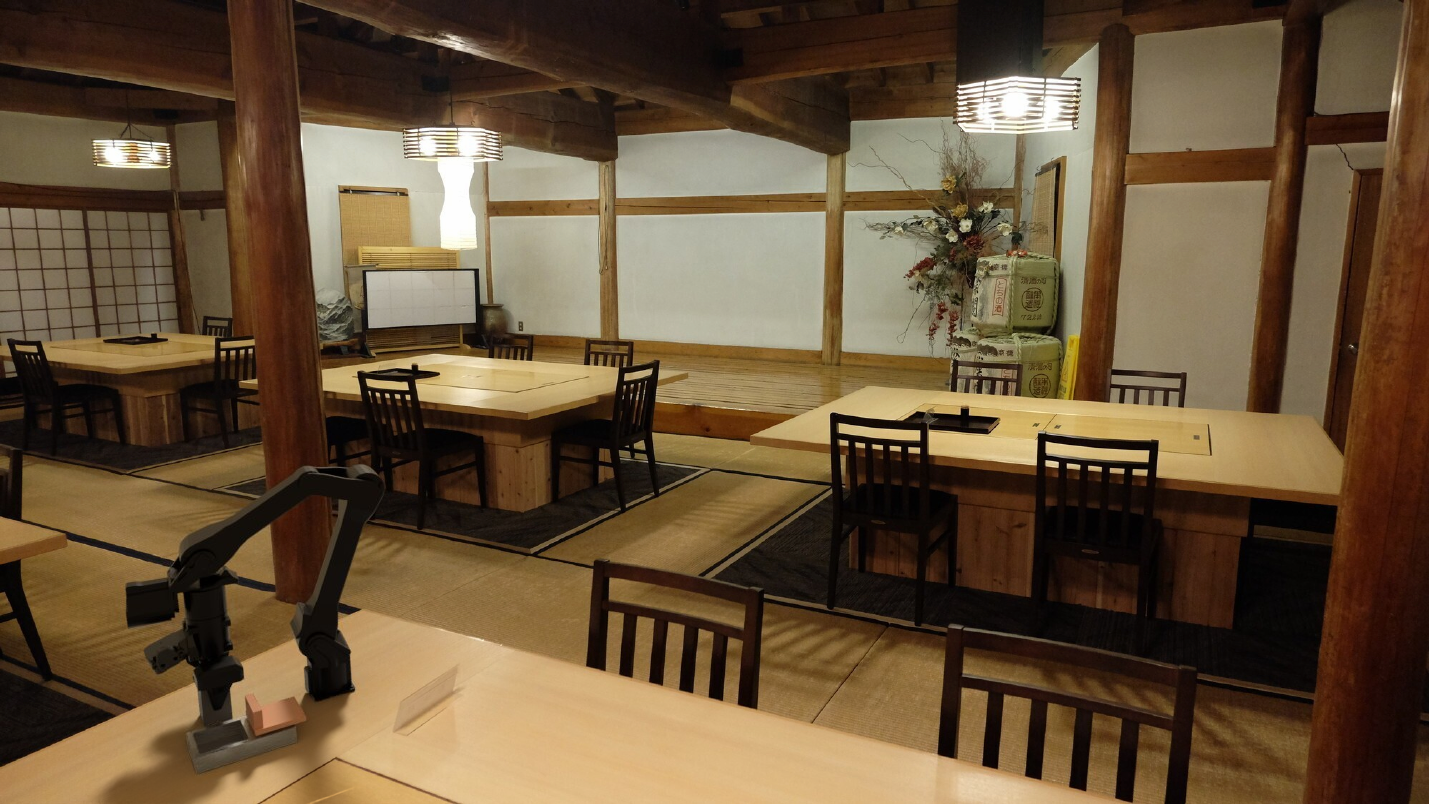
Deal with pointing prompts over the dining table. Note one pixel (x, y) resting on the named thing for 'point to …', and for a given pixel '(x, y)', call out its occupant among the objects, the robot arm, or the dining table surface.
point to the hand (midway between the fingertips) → (215, 703)
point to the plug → (209, 714)
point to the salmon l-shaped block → (272, 714)
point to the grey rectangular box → (233, 743)
